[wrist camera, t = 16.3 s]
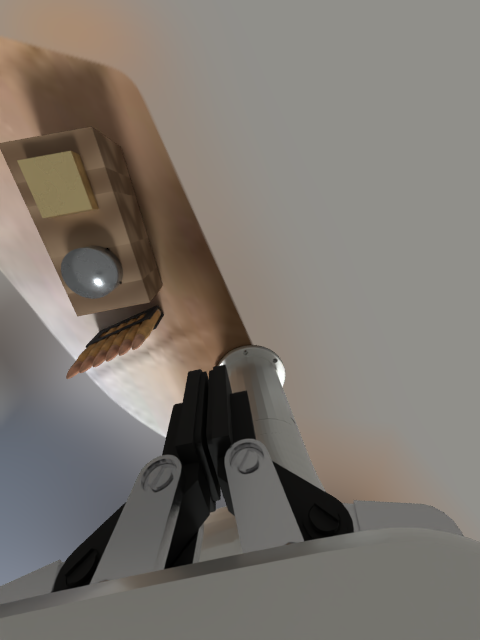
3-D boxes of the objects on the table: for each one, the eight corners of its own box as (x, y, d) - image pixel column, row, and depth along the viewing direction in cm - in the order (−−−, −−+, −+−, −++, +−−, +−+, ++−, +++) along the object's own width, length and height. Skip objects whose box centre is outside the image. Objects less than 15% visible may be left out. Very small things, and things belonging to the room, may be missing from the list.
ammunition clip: (158, 304, 40) (135, 339, 29) (164, 314, 40) (144, 352, 29) (99, 331, 41) (54, 375, 30) (105, 341, 41) (65, 387, 30)
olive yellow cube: (109, 209, 30) (92, 209, 25) (67, 217, 30) (42, 218, 25) (93, 160, 28) (70, 150, 23) (47, 168, 28) (17, 160, 23)
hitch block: (162, 285, 39) (149, 302, 31) (104, 296, 38) (77, 316, 31) (120, 147, 32) (91, 126, 24) (49, 160, 31) (-3, 143, 24)
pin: (132, 236, 35) (103, 243, 26) (144, 274, 37) (122, 293, 28) (93, 243, 35) (51, 253, 26) (108, 281, 37) (74, 302, 28)
